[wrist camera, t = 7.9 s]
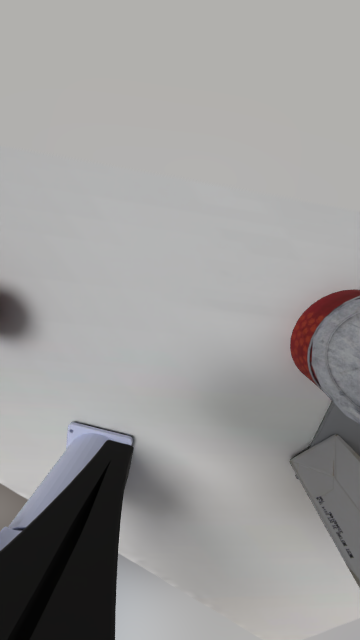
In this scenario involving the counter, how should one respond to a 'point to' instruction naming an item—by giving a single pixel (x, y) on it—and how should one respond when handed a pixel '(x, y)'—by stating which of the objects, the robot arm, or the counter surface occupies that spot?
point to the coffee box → (335, 493)
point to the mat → (338, 429)
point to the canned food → (332, 348)
